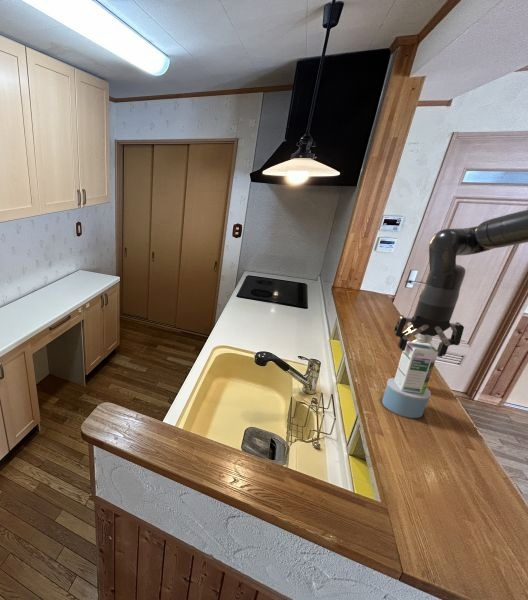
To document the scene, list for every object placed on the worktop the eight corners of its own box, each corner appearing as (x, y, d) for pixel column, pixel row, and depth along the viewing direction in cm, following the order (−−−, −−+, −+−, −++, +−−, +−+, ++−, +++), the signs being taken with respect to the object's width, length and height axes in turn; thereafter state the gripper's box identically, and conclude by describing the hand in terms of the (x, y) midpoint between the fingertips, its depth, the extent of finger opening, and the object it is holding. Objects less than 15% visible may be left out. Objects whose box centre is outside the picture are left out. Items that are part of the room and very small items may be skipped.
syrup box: (401, 391, 97) (414, 348, 92) (393, 380, 103) (405, 339, 98) (424, 394, 96) (439, 351, 91) (414, 383, 101) (429, 342, 96)
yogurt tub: (417, 402, 104) (424, 382, 101) (428, 422, 95) (436, 401, 93) (378, 393, 108) (383, 374, 106) (385, 412, 100) (391, 392, 97)
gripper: (408, 302, 89) (393, 353, 95) (478, 309, 83) (457, 364, 89) (401, 293, 96) (387, 342, 101) (465, 300, 90) (446, 351, 95)
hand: (420, 352), depth 95 cm, fingers open, 8 cm apart
